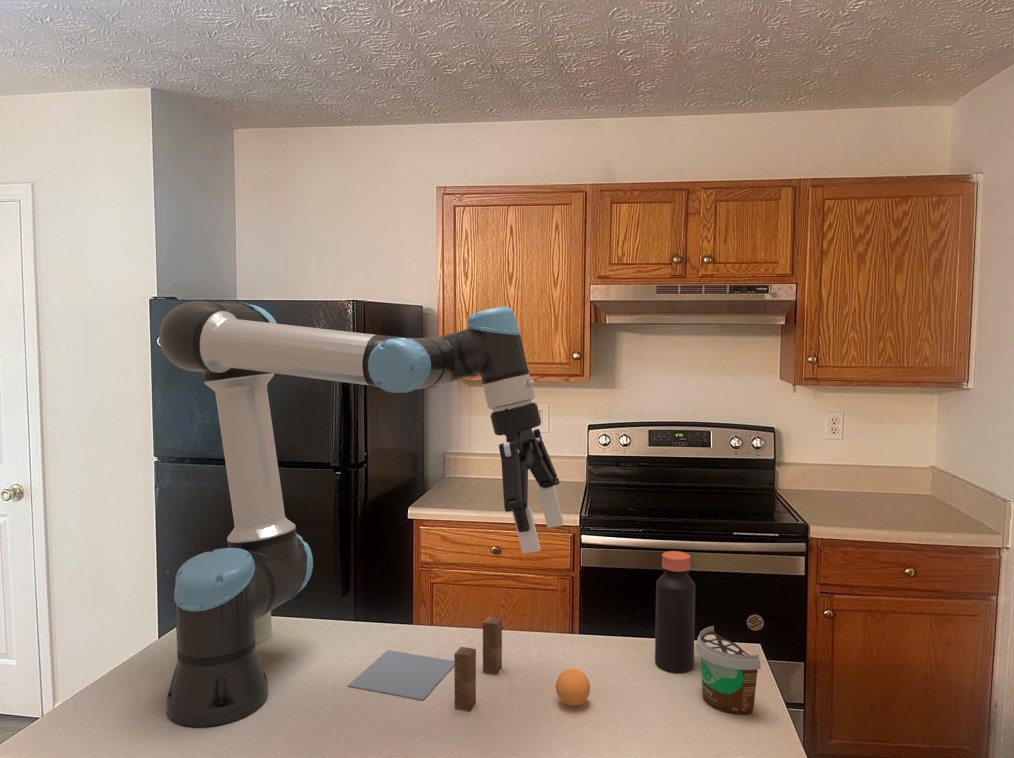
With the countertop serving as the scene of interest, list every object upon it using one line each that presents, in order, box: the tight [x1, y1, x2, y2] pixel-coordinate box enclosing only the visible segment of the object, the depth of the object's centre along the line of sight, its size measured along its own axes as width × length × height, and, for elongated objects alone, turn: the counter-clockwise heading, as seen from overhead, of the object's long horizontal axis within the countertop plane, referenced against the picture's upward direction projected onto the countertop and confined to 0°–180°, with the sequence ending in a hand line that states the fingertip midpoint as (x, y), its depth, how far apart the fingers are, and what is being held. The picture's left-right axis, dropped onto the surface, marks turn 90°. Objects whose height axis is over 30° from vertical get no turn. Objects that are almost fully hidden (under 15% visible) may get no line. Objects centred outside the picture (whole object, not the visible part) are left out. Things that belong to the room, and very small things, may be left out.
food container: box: [695, 625, 762, 716], centre depth 115 cm, size 12×6×10 cm, turn 21°
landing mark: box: [347, 649, 454, 702], centre depth 125 cm, size 14×14×1 cm
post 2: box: [482, 616, 503, 676], centre depth 126 cm, size 3×3×9 cm
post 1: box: [453, 646, 477, 713], centre depth 114 cm, size 3×3×9 cm
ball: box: [555, 668, 591, 707], centre depth 115 cm, size 6×6×6 cm
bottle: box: [654, 550, 696, 674], centre depth 128 cm, size 7×7×20 cm
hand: (544, 538), depth 112 cm, fingers open, 13 cm apart
